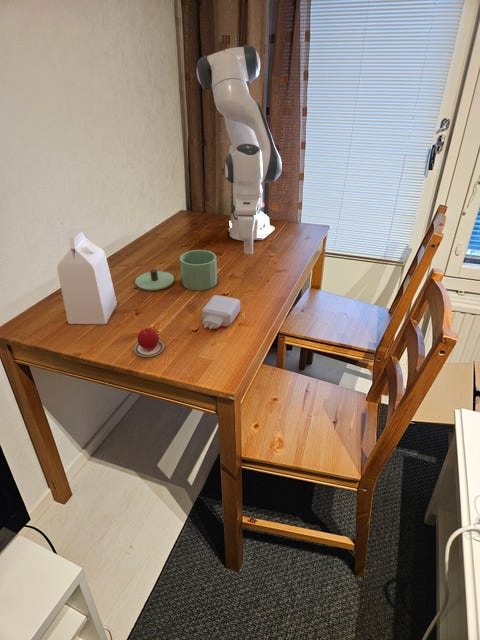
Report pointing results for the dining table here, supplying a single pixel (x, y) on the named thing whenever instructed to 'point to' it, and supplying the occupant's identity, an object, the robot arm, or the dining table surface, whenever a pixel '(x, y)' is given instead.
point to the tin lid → (154, 280)
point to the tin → (198, 269)
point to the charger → (220, 311)
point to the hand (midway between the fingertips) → (248, 242)
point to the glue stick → (248, 247)
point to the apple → (148, 343)
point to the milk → (86, 283)
